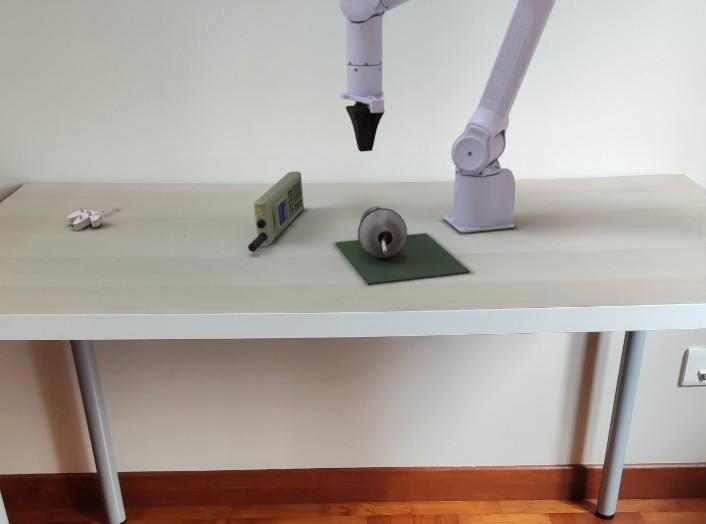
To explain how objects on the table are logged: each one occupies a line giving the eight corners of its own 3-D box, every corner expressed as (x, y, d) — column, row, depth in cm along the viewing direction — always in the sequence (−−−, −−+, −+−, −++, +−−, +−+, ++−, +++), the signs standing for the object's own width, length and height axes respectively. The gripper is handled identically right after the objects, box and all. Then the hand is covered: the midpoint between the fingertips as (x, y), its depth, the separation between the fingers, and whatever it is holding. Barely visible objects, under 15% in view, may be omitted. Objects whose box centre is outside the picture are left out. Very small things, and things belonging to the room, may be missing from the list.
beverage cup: (405, 210, 129) (424, 231, 111) (385, 251, 131) (400, 278, 113) (364, 190, 127) (376, 208, 109) (344, 232, 130) (353, 257, 111)
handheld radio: (307, 209, 143) (263, 256, 122) (289, 209, 144) (243, 256, 123) (303, 171, 140) (259, 212, 119) (285, 171, 141) (237, 212, 119)
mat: (425, 234, 130) (425, 233, 130) (469, 272, 115) (469, 270, 115) (335, 244, 127) (335, 242, 127) (368, 284, 112) (368, 282, 112)
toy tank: (63, 230, 134) (60, 215, 133) (85, 211, 144) (83, 196, 143) (98, 230, 134) (95, 214, 132) (117, 210, 144) (115, 196, 142)
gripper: (329, 59, 135) (331, 143, 142) (352, 70, 123) (354, 161, 130) (369, 57, 137) (370, 140, 143) (396, 68, 125) (396, 158, 131)
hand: (365, 150), depth 137 cm, fingers closed
